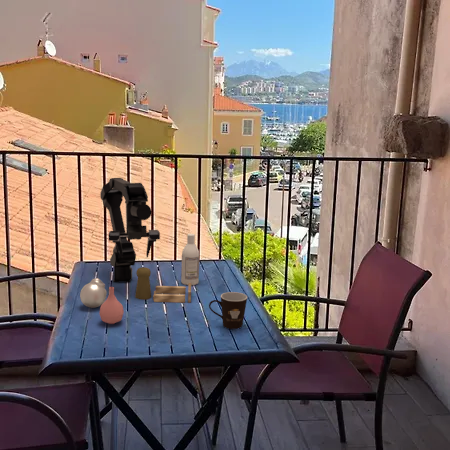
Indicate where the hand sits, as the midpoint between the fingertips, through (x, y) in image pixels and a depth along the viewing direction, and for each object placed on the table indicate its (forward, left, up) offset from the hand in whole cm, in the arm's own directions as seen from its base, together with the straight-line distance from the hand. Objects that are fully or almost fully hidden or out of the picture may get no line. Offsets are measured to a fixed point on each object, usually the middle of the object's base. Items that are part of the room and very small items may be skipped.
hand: (134, 257), depth 211 cm
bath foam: (+21, +10, -13) cm, 27 cm away
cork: (+4, -7, -13) cm, 15 cm away
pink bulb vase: (-4, -32, -13) cm, 35 cm away
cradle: (+15, -7, -13) cm, 21 cm away
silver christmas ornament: (-12, -18, -13) cm, 25 cm away
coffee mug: (+34, -32, -13) cm, 48 cm away
